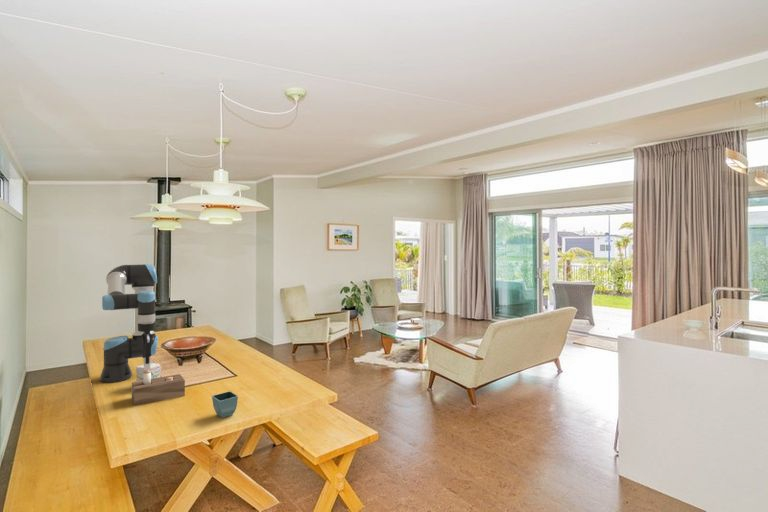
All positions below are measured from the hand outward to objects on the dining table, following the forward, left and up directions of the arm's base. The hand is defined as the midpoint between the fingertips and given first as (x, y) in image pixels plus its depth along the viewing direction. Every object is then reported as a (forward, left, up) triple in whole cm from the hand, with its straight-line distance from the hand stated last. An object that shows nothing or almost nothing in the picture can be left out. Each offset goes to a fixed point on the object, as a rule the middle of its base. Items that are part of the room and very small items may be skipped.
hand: (147, 369), depth 203 cm
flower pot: (+41, +26, -15) cm, 51 cm away
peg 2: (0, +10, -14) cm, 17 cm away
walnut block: (0, +5, -15) cm, 16 cm away
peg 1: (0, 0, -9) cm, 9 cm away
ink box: (-19, +3, -15) cm, 25 cm away
